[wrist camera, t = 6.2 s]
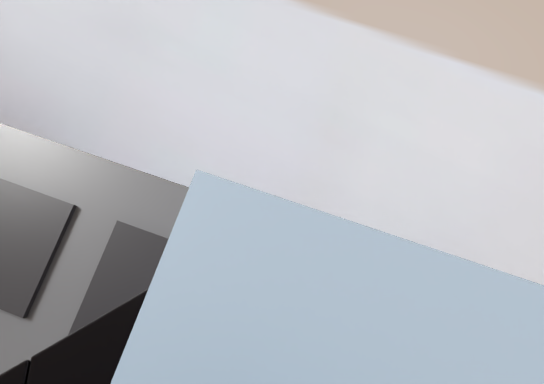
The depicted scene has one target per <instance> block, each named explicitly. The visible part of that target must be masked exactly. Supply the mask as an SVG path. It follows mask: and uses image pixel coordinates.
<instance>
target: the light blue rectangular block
mask: <svg viewBox="0 0 544 384" xmlns="http://www.w3.org/2000/svg"><path fill="white" fill-rule="evenodd" d="M111 384H544V285H541V284H538V283H535V282H532V281H529V280H526V279H523V278H520V277H517V276H514V275H511V274H508V273H505V272H502V271H499V270H496V269H493V268H490V267H487V266H484V265H481V264H478V263H475V262H472V261H469V260H466V259H463V258H460V257H457V256H454V255H451V254H448V253H445V252H442V251H439V250H436V249H433V248H430V247H427V246H424V245H421V244H418V243H415V242H412V241H409V240H406V239H403V238H400V237H397V236H394V235H391V234H388V233H385V232H382V231H379V230H376V229H373V228H370V227H367V226H364V225H361V224H358V223H355V222H352V221H349V220H346V219H343V218H340V217H337V216H334V215H331V214H328V213H325V212H322V211H319V210H316V209H313V208H310V207H307V206H304V205H301V204H298V203H295V202H292V201H289V200H286V199H283V198H280V197H277V196H274V195H271V194H268V193H265V192H262V191H259V190H256V189H253V188H250V187H247V186H244V185H241V184H238V183H235V182H232V181H229V180H226V179H223V178H220V177H217V176H214V175H211V174H208V173H205V172H202V171H199V170H196V172H195V174H194V177H193V179H192V182H191V184H190V187H189V189H188V192H187V194H186V197H185V199H184V202H183V204H182V207H181V209H180V212H179V214H178V217H177V219H176V222H175V224H174V227H173V229H172V232H171V234H170V237H169V239H168V241H167V244H166V246H165V249H164V251H163V254H162V256H161V259H160V261H159V264H158V266H157V269H156V271H155V274H154V276H153V279H152V281H151V284H150V286H149V289H148V291H147V294H146V296H145V299H144V301H143V304H142V306H141V309H140V311H139V314H138V316H137V319H136V321H135V324H134V326H133V329H132V331H131V334H130V336H129V339H128V341H127V344H126V346H125V349H124V351H123V354H122V356H121V359H120V361H119V364H118V366H117V369H116V371H115V374H114V376H113V379H112V381H111Z"/></svg>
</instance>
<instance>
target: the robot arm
mask: <svg viewBox="0 0 544 384" xmlns="http://www.w3.org/2000/svg"><path fill="white" fill-rule="evenodd" d="M148 289H149V288H148ZM148 289H147V290H145V291H143V292H141V293H140V294H138V295H136V296H135V297H133V298H131V299H129V300H128V301H126V302H124V303H123V304H121V305H119V306H117V307H116V308H114V309H112V310H111V311H109V312H107V313H105V314H104V315H102V316H100V317H99V318H97V319H95V320H93V321H92V322H90V323H88V324H87V325H85V326H83V327H81V328H80V329H78V330H76V331H75V332H73V333H71V334H69V335H68V336H66V337H64V338H63V339H61V340H59V341H57V342H56V343H54V344H52V345H51V346H49V347H47V348H45V349H44V350H42V351H40V352H39V353H37V354H35V355H33V356H32V357H31V360H24V361H23V362H21V363H19V364H18V365H16V366H14V367H12V368H11V369H9V370H7V371H6V372H4V373H2V374H0V384H111V381H112V379H113V376H114V374H115V371H116V369H117V366H118V364H119V361H120V359H121V356H122V354H123V351H124V349H125V346H126V344H127V341H128V339H129V336H130V334H131V331H132V329H133V326H134V324H135V321H136V319H137V316H138V314H139V311H140V309H141V306H142V304H143V301H144V299H145V296H146V294H147V291H148Z"/></svg>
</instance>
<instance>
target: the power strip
mask: <svg viewBox="0 0 544 384" xmlns="http://www.w3.org/2000/svg"><path fill="white" fill-rule="evenodd" d="M188 189H189V187H186V186H183V185H180V184H177V183H174V182H171V181H168V180H165V179H162V178H159V177H157V176H154V175H151V174H148V173H145V172H142V171H139V170H136V169H133V168H130V167H127V166H124V165H121V164H118V163H115V162H112V161H110V160H107V159H104V158H101V157H98V156H95V155H92V154H89V153H86V152H83V151H80V150H77V149H74V148H71V147H68V146H66V145H63V144H60V143H57V142H54V141H51V140H48V139H45V138H42V137H39V136H36V135H33V134H30V133H27V132H24V131H21V130H19V129H16V128H13V127H10V126H7V125H4V124H1V123H0V374H2V373H4V372H6V371H7V370H9V369H11V368H12V367H14V366H16V365H18V364H19V363H21V362H23V361H24V360H31V357H32V356H33V355H35V354H37V353H39V352H40V351H42V350H44V349H45V348H47V347H49V346H51V345H52V344H54V343H56V342H57V341H59V340H61V339H63V338H64V337H66V336H68V335H69V334H71V333H73V332H75V331H76V330H78V329H80V328H81V327H83V326H85V325H87V324H88V323H90V322H92V321H93V320H95V319H97V318H99V317H100V316H102V315H104V314H105V313H107V312H109V311H111V310H112V309H114V308H116V307H117V306H119V305H121V304H123V303H124V302H126V301H128V300H129V299H131V298H133V297H135V296H136V295H138V294H140V293H141V292H143V291H145V290H147V289H148V288H149V286H150V284H151V281H152V279H153V276H154V274H155V271H156V269H157V266H158V264H159V261H160V259H161V256H162V254H163V251H164V249H165V246H166V244H167V241H168V239H169V237H170V234H171V232H172V229H173V227H174V224H175V222H176V219H177V217H178V214H179V212H180V209H181V207H182V204H183V202H184V199H185V197H186V194H187V192H188Z"/></svg>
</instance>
